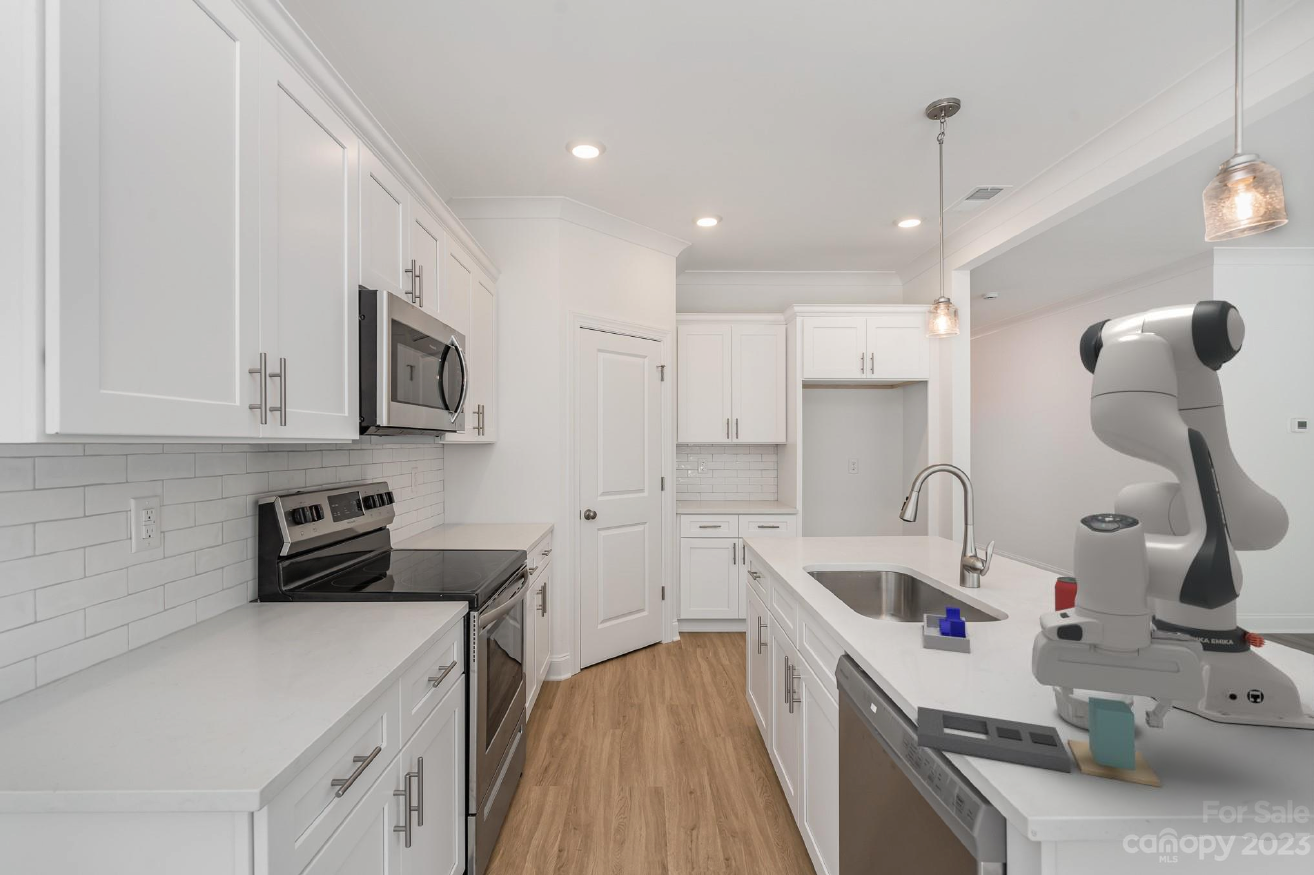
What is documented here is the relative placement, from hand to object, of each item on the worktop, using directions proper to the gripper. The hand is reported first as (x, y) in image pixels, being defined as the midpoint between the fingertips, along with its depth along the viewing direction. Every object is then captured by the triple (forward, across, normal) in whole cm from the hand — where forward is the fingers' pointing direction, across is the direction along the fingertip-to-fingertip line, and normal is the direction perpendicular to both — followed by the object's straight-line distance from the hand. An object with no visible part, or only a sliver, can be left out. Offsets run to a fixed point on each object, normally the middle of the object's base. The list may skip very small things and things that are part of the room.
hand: (1114, 720), depth 88 cm
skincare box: (+8, -25, -77) cm, 82 cm away
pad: (+6, +1, 0) cm, 6 cm away
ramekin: (+7, -1, -15) cm, 16 cm away
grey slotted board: (+6, +17, 0) cm, 18 cm away
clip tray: (+7, +20, -51) cm, 55 cm away
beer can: (+7, -9, -71) cm, 72 cm away
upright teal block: (+6, 0, 0) cm, 6 cm away
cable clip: (+7, +18, -52) cm, 55 cm away
